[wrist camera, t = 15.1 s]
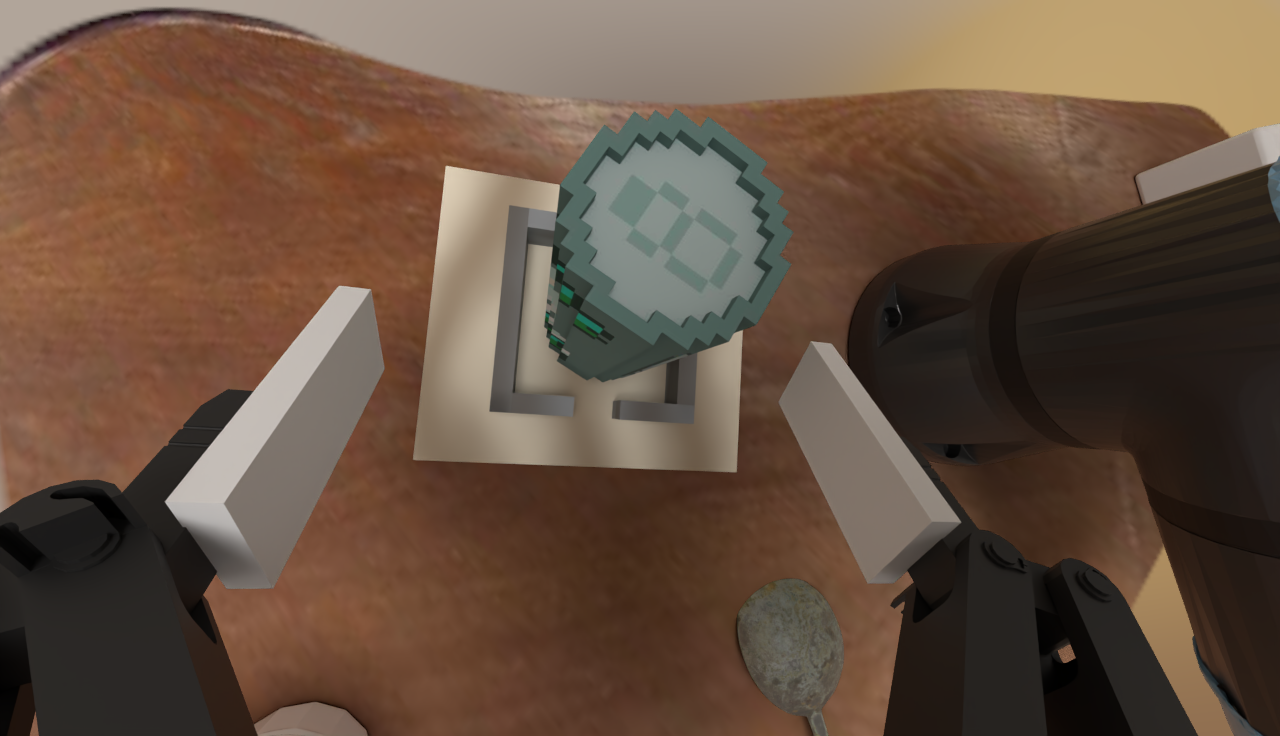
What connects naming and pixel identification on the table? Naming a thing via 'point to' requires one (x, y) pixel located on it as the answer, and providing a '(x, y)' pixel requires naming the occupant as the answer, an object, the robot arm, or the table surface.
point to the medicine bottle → (1211, 164)
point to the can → (661, 246)
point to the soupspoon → (792, 648)
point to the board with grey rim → (547, 356)
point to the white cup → (310, 722)
